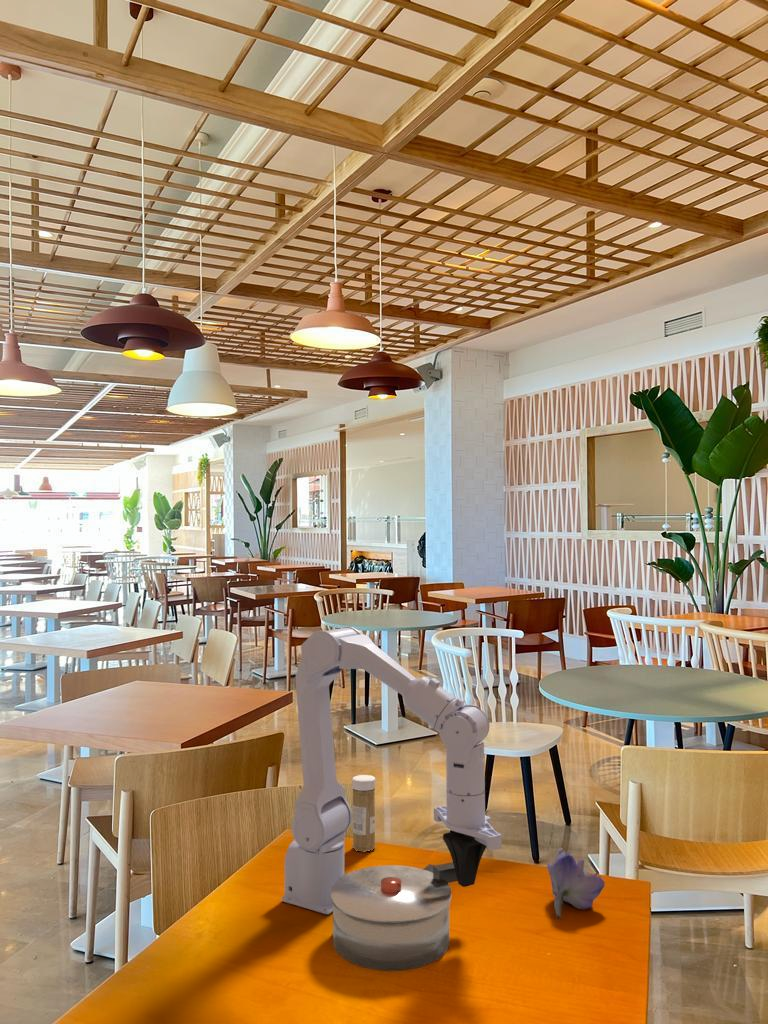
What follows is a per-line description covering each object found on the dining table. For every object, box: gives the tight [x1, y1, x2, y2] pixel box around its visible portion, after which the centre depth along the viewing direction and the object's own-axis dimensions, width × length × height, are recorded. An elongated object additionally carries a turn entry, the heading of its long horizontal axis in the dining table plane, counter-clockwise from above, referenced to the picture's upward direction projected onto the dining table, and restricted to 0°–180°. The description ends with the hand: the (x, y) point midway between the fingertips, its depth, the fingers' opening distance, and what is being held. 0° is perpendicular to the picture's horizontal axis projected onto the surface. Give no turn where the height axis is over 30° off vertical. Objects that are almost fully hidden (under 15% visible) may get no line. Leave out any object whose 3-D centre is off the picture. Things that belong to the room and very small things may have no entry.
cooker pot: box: [332, 863, 450, 972], centre depth 112 cm, size 23×17×6 cm
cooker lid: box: [331, 861, 458, 924], centre depth 111 cm, size 22×18×3 cm
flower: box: [546, 847, 606, 920], centre depth 119 cm, size 9×9×10 cm
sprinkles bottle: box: [351, 774, 377, 852], centre depth 144 cm, size 5×5×13 cm
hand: (466, 884), depth 110 cm, fingers closed
